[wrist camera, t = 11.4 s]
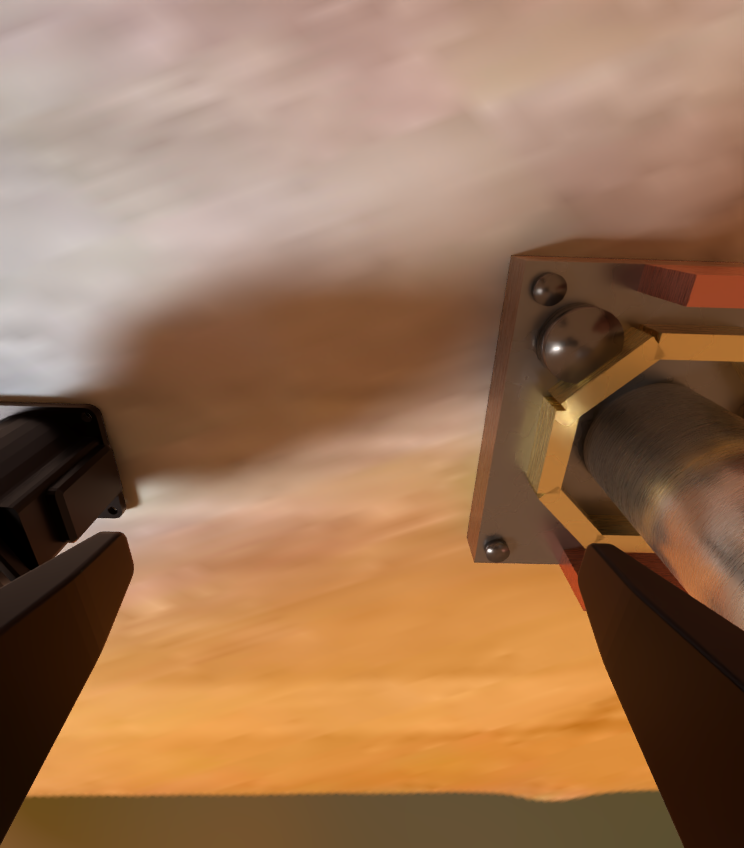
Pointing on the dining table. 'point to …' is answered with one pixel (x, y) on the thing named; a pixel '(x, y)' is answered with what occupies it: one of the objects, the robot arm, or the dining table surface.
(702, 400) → the spout can
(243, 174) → the dining table surface
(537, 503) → the grey base with ring
